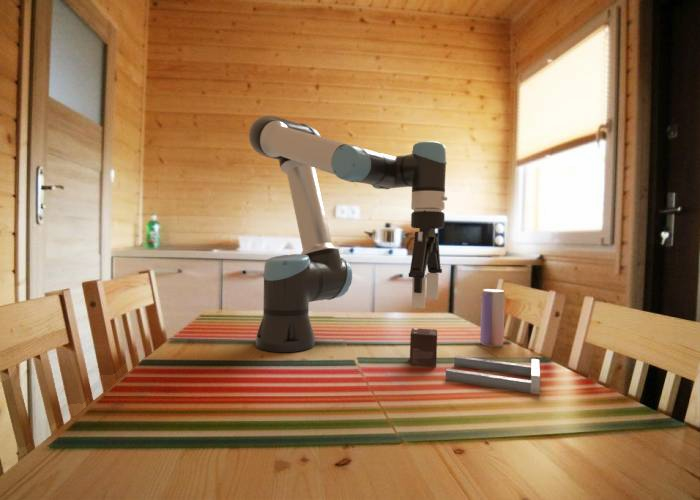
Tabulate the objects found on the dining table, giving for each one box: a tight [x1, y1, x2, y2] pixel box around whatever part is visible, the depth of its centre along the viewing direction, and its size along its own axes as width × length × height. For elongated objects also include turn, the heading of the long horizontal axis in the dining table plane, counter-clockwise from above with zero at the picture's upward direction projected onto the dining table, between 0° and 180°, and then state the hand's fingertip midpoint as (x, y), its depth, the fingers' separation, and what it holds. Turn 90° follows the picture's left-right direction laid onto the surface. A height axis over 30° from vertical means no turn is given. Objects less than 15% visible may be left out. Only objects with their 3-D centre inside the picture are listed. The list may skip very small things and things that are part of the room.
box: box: [409, 327, 438, 368], centre depth 98 cm, size 6×6×7 cm
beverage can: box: [479, 288, 506, 348], centre depth 116 cm, size 6×6×15 cm
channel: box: [445, 355, 541, 395], centre depth 88 cm, size 18×12×4 cm
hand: (425, 303), depth 98 cm, fingers open, 13 cm apart
